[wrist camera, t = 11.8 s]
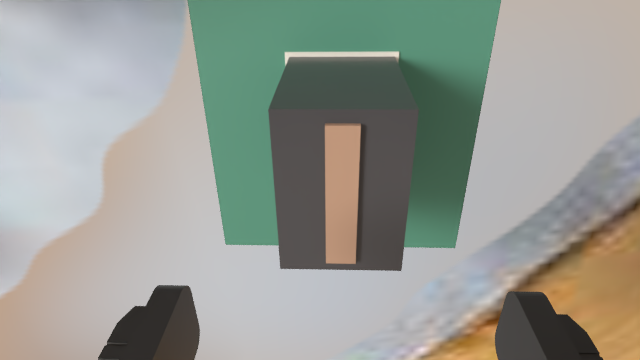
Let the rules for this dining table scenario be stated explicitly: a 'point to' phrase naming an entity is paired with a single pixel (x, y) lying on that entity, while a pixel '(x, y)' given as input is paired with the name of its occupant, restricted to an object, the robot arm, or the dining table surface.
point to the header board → (342, 41)
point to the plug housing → (342, 162)
